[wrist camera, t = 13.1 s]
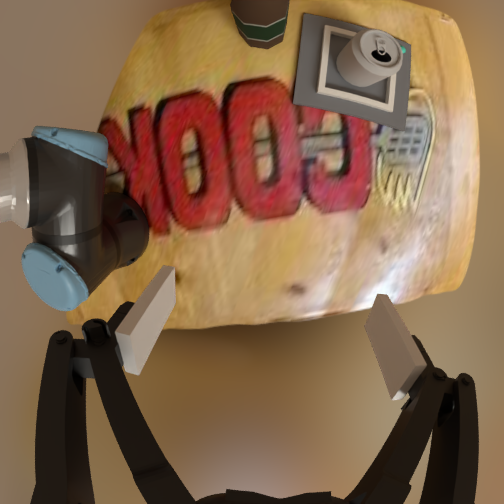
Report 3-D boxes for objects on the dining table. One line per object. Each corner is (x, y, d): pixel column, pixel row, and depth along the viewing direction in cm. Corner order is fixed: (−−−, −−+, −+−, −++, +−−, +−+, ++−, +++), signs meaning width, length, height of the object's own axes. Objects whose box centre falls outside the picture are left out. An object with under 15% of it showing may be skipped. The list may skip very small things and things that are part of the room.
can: (336, 84, 36) (357, 68, 25) (333, 45, 33) (352, 19, 22) (378, 90, 36) (409, 79, 25) (375, 52, 33) (404, 32, 22)
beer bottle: (290, 47, 35) (306, -27, 13) (244, 54, 36) (218, -16, 14) (280, 12, 32) (285, -71, 10) (236, 19, 33) (206, -60, 11)
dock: (292, 104, 39) (293, 102, 37) (303, 15, 32) (305, 9, 30) (402, 131, 39) (408, 131, 37) (408, 46, 32) (414, 42, 29)
